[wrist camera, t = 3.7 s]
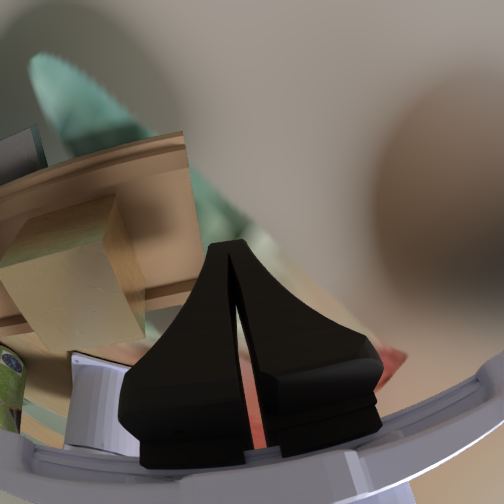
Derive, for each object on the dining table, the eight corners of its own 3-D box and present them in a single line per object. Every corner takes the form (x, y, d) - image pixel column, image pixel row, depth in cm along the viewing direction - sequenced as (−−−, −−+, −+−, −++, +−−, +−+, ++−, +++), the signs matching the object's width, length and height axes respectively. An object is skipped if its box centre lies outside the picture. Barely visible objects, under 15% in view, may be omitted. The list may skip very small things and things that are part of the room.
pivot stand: (24, 306, 19) (12, 333, 17) (-43, 163, 11) (-68, 182, 9) (101, 299, 20) (92, 329, 17) (36, 124, 12) (9, 138, 10)
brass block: (64, 296, 14) (51, 353, 11) (27, 219, 11) (-6, 270, 8) (145, 279, 15) (145, 338, 12) (117, 193, 12) (102, 241, 9)
